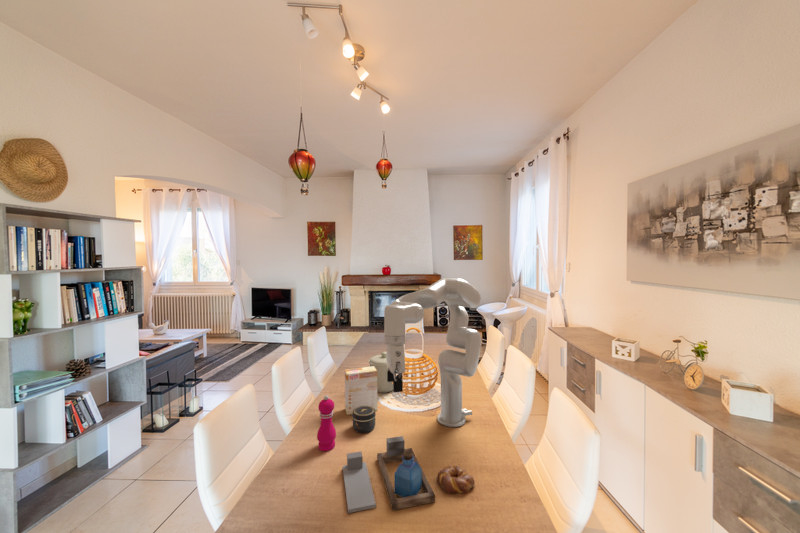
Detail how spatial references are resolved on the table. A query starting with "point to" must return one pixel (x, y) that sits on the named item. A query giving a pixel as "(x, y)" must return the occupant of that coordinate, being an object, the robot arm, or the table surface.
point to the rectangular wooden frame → (393, 454)
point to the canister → (381, 372)
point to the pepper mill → (326, 425)
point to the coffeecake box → (360, 388)
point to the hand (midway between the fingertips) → (394, 386)
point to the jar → (363, 419)
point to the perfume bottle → (407, 476)
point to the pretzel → (455, 480)
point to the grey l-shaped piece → (357, 484)
